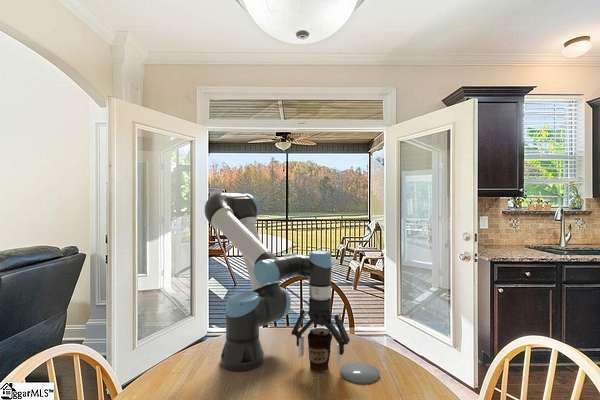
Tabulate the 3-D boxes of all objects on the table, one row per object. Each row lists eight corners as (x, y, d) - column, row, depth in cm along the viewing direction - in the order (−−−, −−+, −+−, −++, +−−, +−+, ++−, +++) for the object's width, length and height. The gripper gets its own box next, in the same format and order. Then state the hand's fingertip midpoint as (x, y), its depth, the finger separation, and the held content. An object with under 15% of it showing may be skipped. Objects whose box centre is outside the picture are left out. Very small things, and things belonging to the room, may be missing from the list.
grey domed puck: (334, 378, 113) (334, 375, 113) (346, 361, 125) (346, 358, 125) (374, 387, 107) (374, 384, 107) (382, 368, 119) (383, 366, 119)
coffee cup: (330, 377, 113) (330, 337, 113) (305, 374, 115) (305, 334, 115) (333, 364, 122) (333, 327, 122) (309, 362, 124) (310, 325, 124)
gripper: (282, 295, 120) (281, 357, 120) (353, 305, 110) (352, 372, 110) (291, 290, 127) (291, 348, 127) (359, 298, 117) (358, 362, 117)
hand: (319, 359), depth 118 cm, fingers open, 13 cm apart
